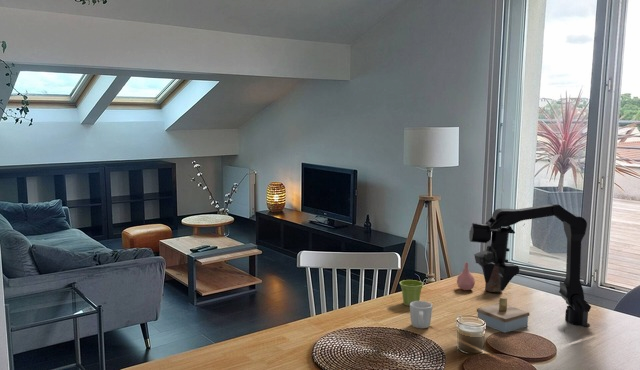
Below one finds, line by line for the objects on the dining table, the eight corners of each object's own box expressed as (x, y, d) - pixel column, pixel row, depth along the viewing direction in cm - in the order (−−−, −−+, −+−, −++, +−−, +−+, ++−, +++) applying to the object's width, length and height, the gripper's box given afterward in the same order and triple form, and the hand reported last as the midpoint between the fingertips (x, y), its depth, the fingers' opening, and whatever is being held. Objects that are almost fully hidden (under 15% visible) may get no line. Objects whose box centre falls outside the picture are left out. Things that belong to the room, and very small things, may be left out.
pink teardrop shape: (457, 286, 236) (458, 260, 235) (475, 288, 233) (475, 261, 232) (455, 291, 229) (456, 264, 227) (474, 293, 226) (475, 265, 225)
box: (527, 328, 187) (528, 315, 186) (504, 334, 181) (505, 322, 180) (499, 317, 197) (500, 306, 196) (477, 323, 191) (477, 311, 190)
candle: (501, 289, 232) (503, 244, 230) (505, 294, 225) (507, 248, 223) (483, 288, 233) (485, 244, 231) (487, 293, 226) (488, 247, 224)
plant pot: (394, 302, 214) (395, 281, 213) (414, 299, 218) (414, 278, 217) (407, 309, 206) (408, 287, 205) (427, 305, 210) (428, 284, 209)
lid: (529, 315, 186) (530, 300, 186) (505, 322, 180) (506, 306, 179) (500, 305, 197) (500, 290, 196) (476, 311, 190) (477, 296, 190)
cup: (432, 334, 181) (432, 311, 180) (408, 332, 183) (409, 309, 182) (431, 322, 192) (432, 301, 191) (409, 321, 193) (410, 300, 192)
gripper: (465, 238, 196) (460, 279, 198) (494, 250, 178) (489, 295, 180) (491, 238, 199) (486, 278, 201) (522, 250, 181) (517, 294, 183)
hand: (494, 286), depth 191 cm, fingers open, 9 cm apart
